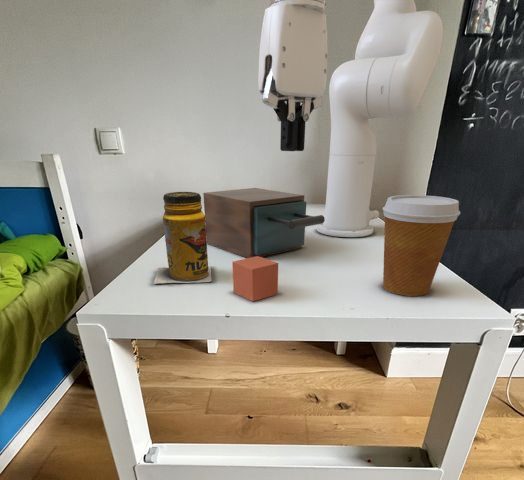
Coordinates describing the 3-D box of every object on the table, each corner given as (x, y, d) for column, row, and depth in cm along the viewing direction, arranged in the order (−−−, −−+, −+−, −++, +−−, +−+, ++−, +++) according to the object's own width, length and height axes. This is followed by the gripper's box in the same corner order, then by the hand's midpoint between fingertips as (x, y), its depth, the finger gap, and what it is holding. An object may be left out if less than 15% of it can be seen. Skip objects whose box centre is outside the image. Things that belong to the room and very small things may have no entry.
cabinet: (301, 247, 75) (304, 195, 71) (250, 259, 68) (249, 201, 64) (255, 234, 85) (255, 187, 80) (206, 243, 78) (203, 192, 74)
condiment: (211, 282, 58) (206, 196, 52) (153, 284, 57) (141, 197, 51) (210, 267, 64) (205, 189, 58) (158, 269, 63) (147, 190, 57)
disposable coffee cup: (358, 281, 58) (369, 196, 52) (411, 274, 61) (427, 193, 55) (398, 304, 50) (416, 207, 44) (456, 295, 53) (480, 203, 47)
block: (258, 285, 56) (257, 255, 54) (277, 294, 53) (278, 262, 51) (233, 292, 54) (232, 261, 52) (252, 301, 51) (252, 269, 49)
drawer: (330, 252, 69) (334, 206, 65) (283, 263, 63) (284, 213, 59) (259, 232, 83) (259, 193, 79) (215, 240, 77) (212, 198, 73)
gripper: (316, 14, 59) (309, 149, 68) (235, -6, 51) (239, 151, 60) (355, 3, 54) (342, 150, 63) (272, -22, 46) (270, 152, 55)
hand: (292, 150), depth 61 cm, fingers closed
